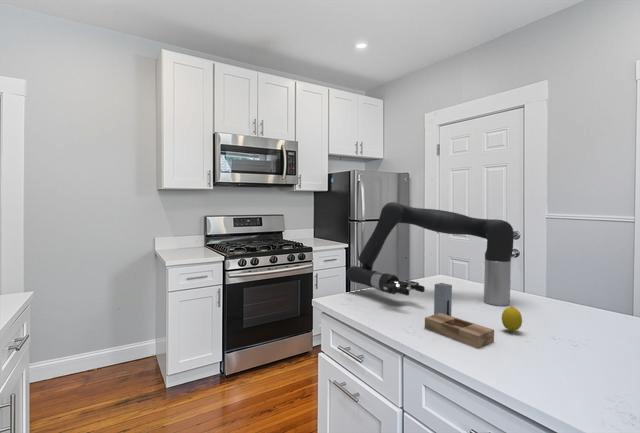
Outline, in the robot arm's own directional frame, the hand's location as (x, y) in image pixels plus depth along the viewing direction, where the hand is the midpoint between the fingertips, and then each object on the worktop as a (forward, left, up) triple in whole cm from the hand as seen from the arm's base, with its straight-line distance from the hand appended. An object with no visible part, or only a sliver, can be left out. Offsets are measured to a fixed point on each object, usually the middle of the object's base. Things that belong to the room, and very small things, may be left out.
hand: (416, 291), depth 126 cm
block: (0, +11, -7) cm, 13 cm away
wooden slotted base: (+8, +22, -7) cm, 25 cm away
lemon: (-8, +30, -8) cm, 32 cm away
